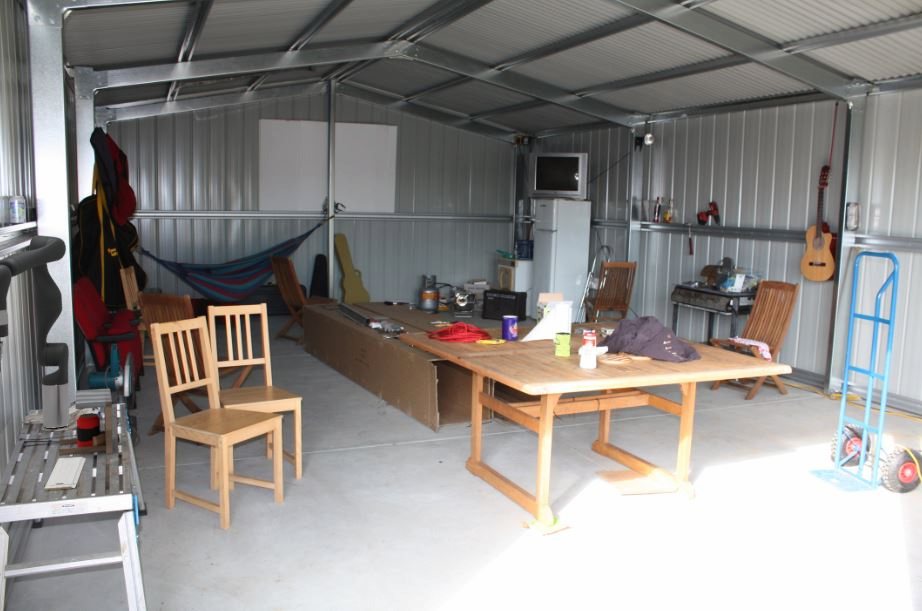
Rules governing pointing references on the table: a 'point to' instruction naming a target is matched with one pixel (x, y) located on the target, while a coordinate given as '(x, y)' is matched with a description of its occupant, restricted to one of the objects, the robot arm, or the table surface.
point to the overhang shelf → (105, 438)
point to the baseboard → (65, 473)
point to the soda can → (87, 429)
